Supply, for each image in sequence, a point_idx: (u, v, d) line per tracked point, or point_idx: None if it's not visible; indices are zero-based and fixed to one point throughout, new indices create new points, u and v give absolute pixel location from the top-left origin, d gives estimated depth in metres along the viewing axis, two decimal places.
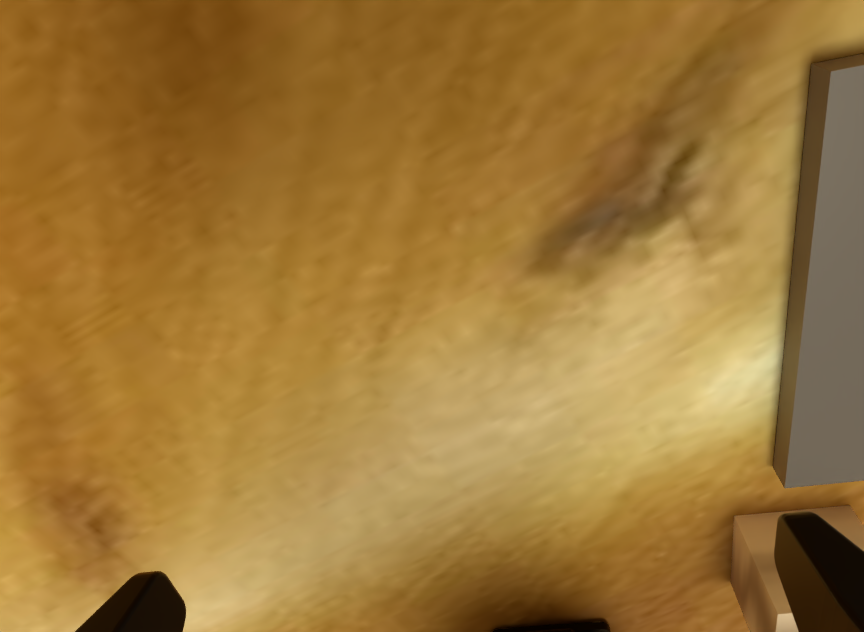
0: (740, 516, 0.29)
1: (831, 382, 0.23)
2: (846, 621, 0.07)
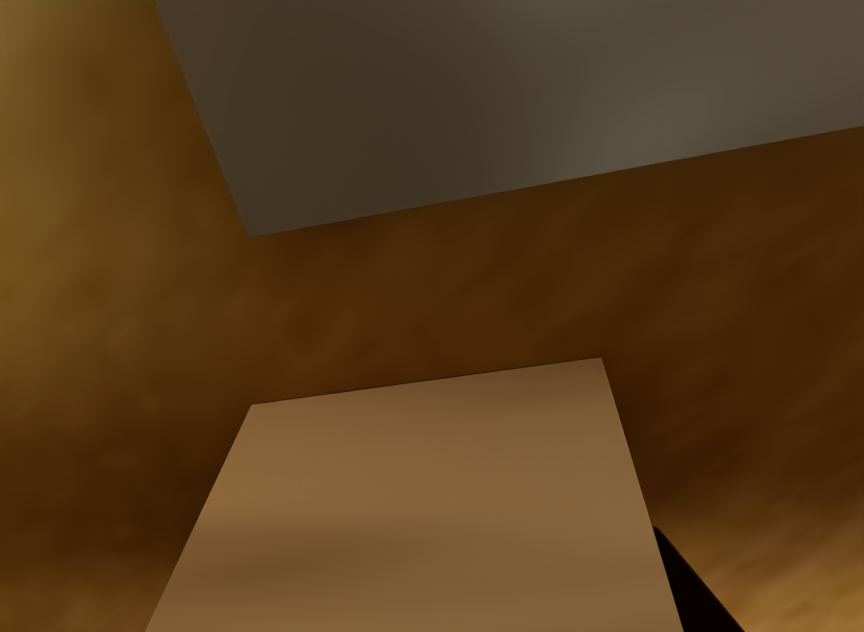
0: (264, 409, 0.09)
1: None
2: None
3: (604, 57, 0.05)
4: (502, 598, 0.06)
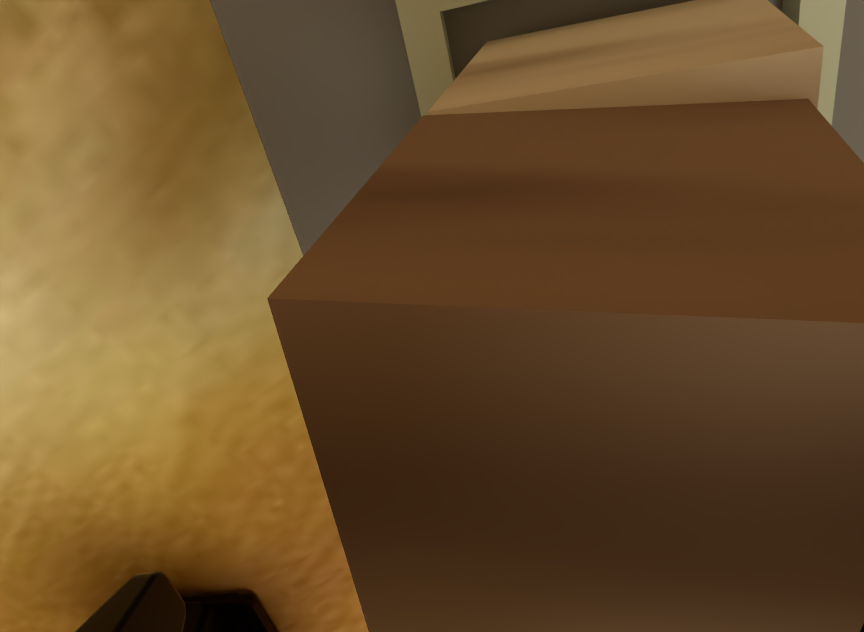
0: (497, 39, 0.13)
1: None
2: None
3: None
4: (682, 41, 0.09)
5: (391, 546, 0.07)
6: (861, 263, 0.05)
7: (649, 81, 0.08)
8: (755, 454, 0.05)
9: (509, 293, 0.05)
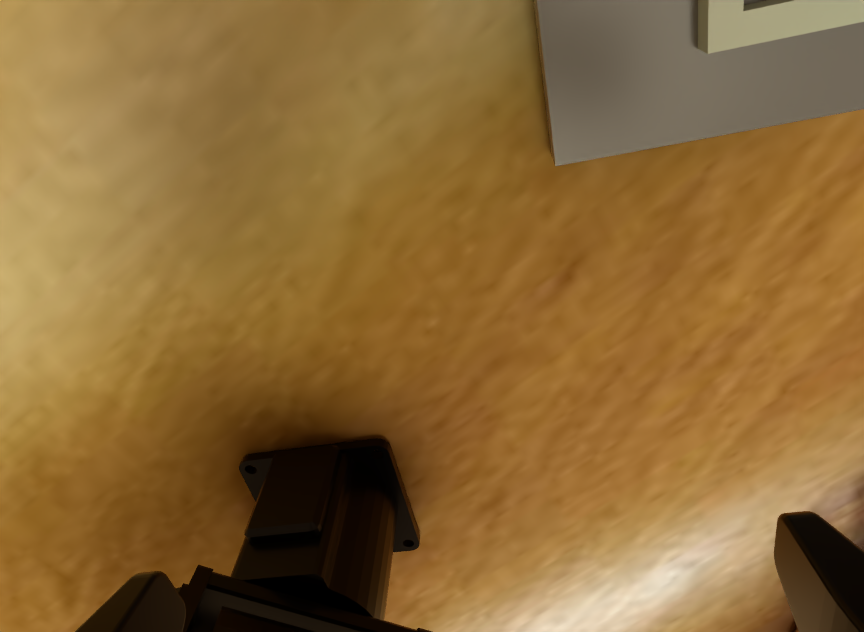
0: None
1: None
2: (846, 621, 0.07)
3: (684, 106, 0.17)
4: None
5: None
6: None
7: None
8: None
9: None
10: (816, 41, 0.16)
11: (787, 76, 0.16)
